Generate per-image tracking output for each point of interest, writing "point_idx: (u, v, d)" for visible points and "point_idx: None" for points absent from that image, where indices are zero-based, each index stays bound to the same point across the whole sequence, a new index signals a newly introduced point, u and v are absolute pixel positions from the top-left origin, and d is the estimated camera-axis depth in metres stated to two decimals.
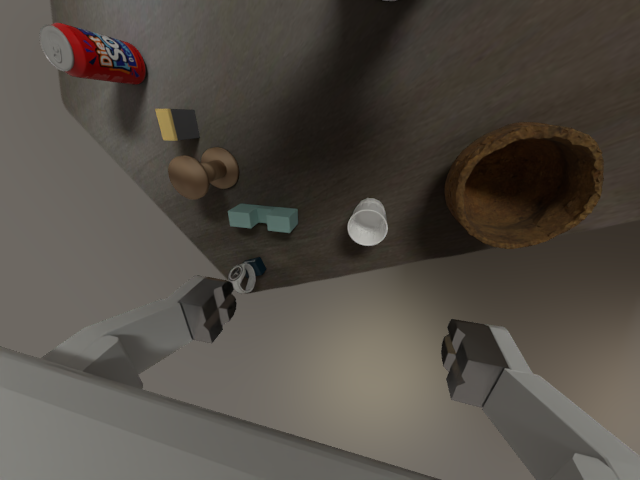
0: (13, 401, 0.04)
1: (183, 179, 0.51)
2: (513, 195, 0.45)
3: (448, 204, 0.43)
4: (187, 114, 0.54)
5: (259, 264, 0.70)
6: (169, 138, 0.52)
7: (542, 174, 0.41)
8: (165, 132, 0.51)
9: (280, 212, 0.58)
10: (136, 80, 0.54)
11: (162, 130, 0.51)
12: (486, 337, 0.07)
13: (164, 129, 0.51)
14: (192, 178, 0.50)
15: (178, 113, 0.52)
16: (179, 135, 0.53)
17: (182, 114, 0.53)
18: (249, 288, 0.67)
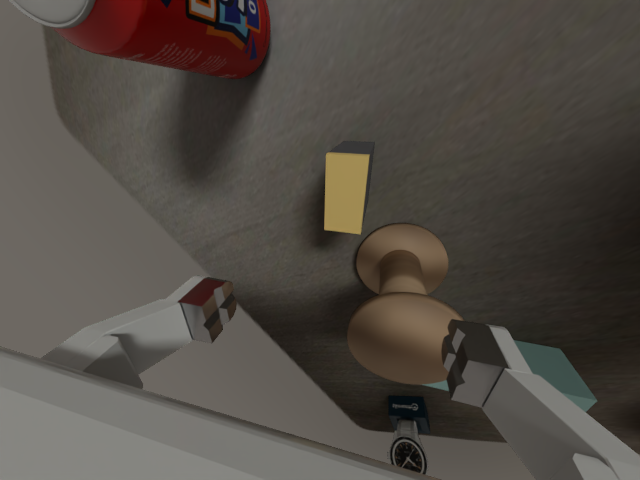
0: (13, 401, 0.04)
1: (391, 345, 0.19)
2: None
3: None
4: None
5: (426, 414, 0.38)
6: (344, 228, 0.19)
7: None
8: (337, 213, 0.19)
9: (546, 370, 0.26)
10: (246, 69, 0.21)
11: (330, 208, 0.19)
12: (486, 337, 0.07)
13: (337, 206, 0.19)
14: (424, 349, 0.18)
15: (370, 160, 0.19)
16: (363, 217, 0.20)
17: None
18: None
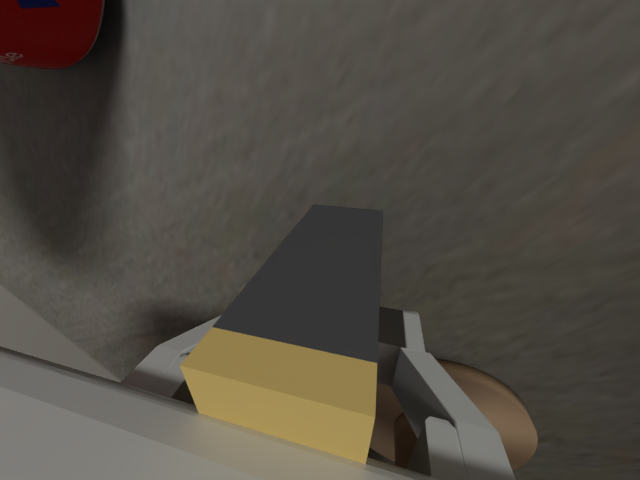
0: (13, 401, 0.04)
1: None
2: None
3: None
4: None
5: None
6: None
7: None
8: None
9: None
10: (42, 40, 0.08)
11: None
12: (396, 321, 0.07)
13: None
14: None
15: None
16: None
17: None
18: None
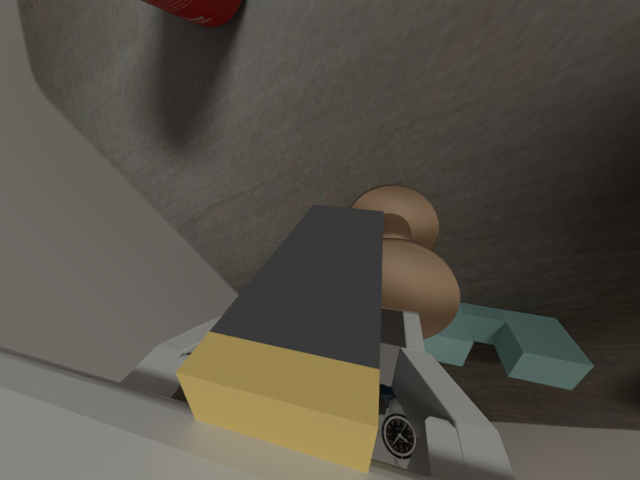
0: (13, 401, 0.04)
1: None
2: None
3: None
4: None
5: None
6: None
7: None
8: None
9: (541, 338, 0.25)
10: (222, 12, 0.20)
11: None
12: (396, 321, 0.07)
13: None
14: (408, 301, 0.17)
15: None
16: None
17: None
18: None
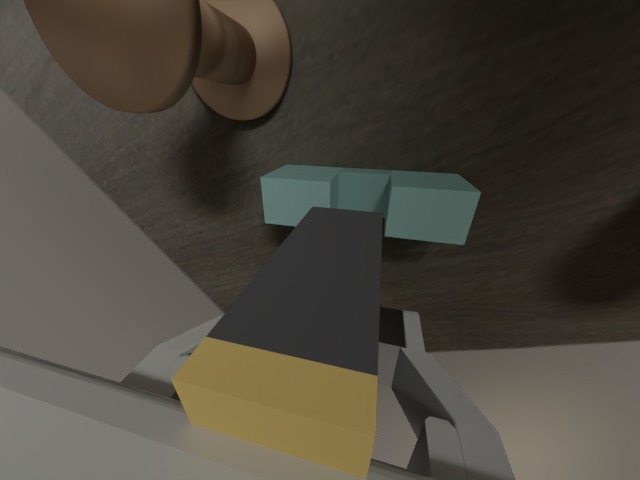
0: (13, 401, 0.04)
1: (83, 8, 0.11)
2: None
3: None
4: None
5: None
6: None
7: None
8: None
9: (426, 180, 0.19)
10: None
11: None
12: (396, 321, 0.07)
13: None
14: None
15: None
16: None
17: None
18: None
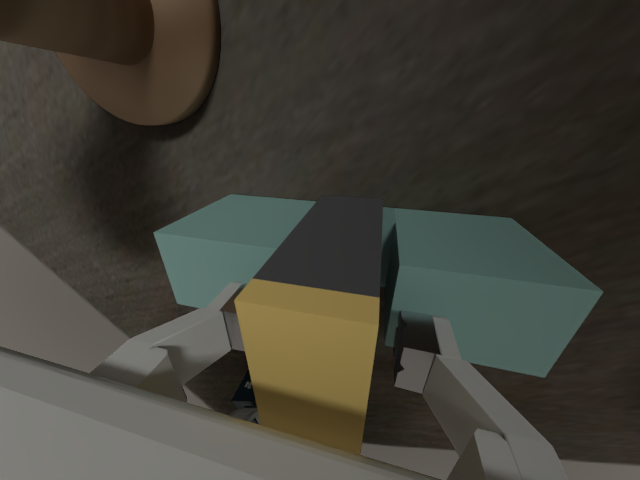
0: (13, 401, 0.04)
1: None
2: None
3: None
4: None
5: None
6: None
7: None
8: (293, 427, 0.07)
9: (464, 242, 0.10)
10: None
11: (271, 413, 0.07)
12: (426, 326, 0.07)
13: (290, 415, 0.07)
14: None
15: None
16: None
17: None
18: None
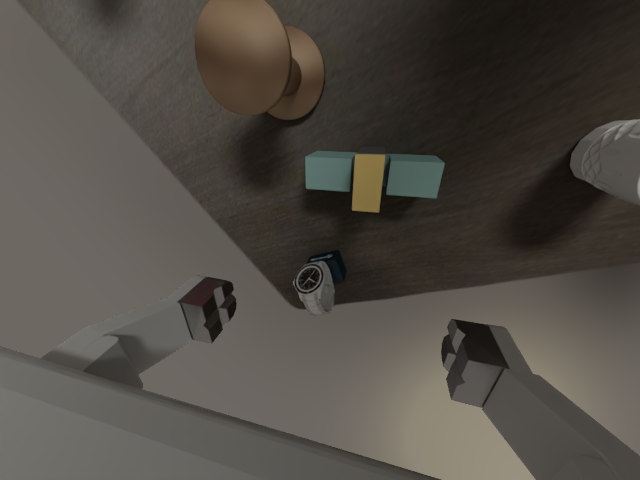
0: (13, 401, 0.04)
1: (230, 61, 0.22)
2: None
3: None
4: None
5: (339, 262, 0.40)
6: (367, 208, 0.27)
7: None
8: (362, 197, 0.26)
9: (412, 158, 0.29)
10: None
11: (356, 194, 0.26)
12: (486, 337, 0.07)
13: (362, 192, 0.26)
14: (253, 55, 0.21)
15: None
16: None
17: None
18: (327, 305, 0.38)
